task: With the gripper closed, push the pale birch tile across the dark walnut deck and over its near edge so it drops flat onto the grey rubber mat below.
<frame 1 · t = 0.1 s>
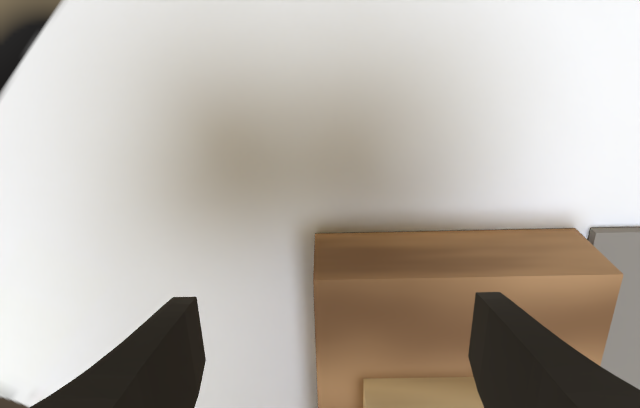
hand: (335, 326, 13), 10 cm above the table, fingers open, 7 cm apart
walnut deck: (432, 381, 26), on the table
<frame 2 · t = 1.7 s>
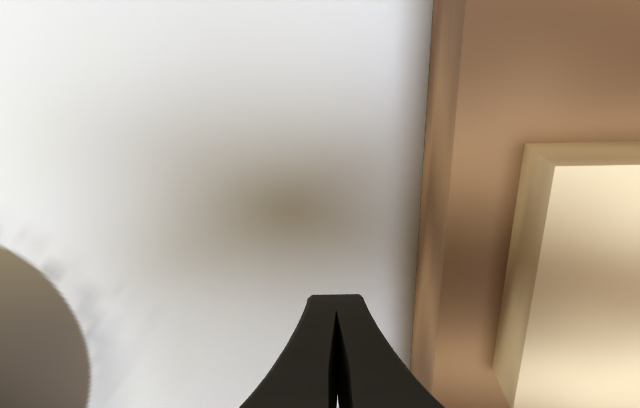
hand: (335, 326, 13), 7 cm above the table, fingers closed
birch tile: (603, 265, 15), point 4 cm above the table, touching walnut deck
walnut deck: (575, 212, 19), on the table
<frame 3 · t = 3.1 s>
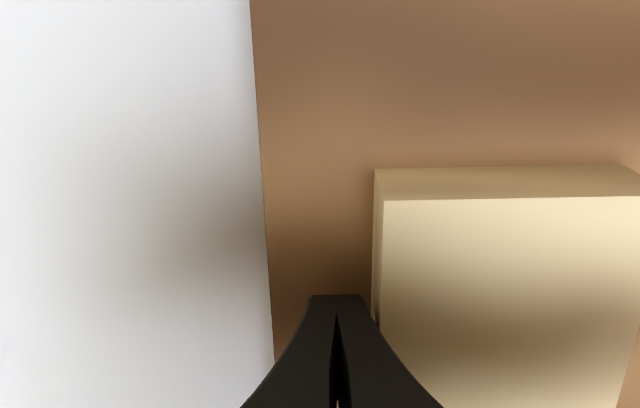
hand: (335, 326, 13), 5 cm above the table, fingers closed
birch tile: (480, 304, 14), point 4 cm above the table, touching walnut deck
walnut deck: (453, 237, 17), on the table
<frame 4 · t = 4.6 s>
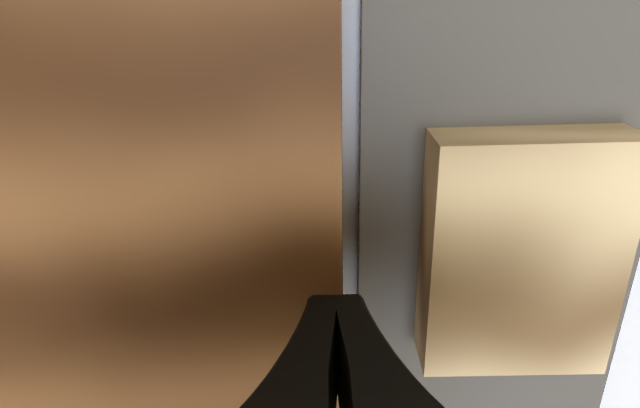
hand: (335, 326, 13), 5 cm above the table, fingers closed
birch tile: (531, 272, 15), point 2 cm above the table, tilted 180°, touching rubber mat
walnut deck: (168, 242, 17), on the table
rubber mat: (496, 237, 17), on the table
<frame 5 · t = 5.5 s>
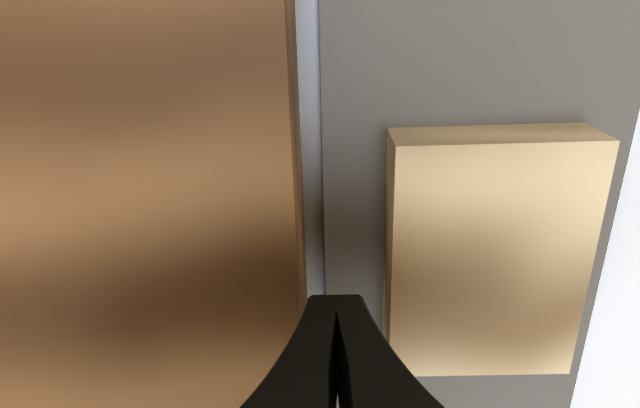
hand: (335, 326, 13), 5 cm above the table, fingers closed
birch tile: (491, 271, 15), point 2 cm above the table, tilted 180°, touching rubber mat
walnut deck: (134, 242, 17), on the table
rubber mat: (462, 236, 17), on the table
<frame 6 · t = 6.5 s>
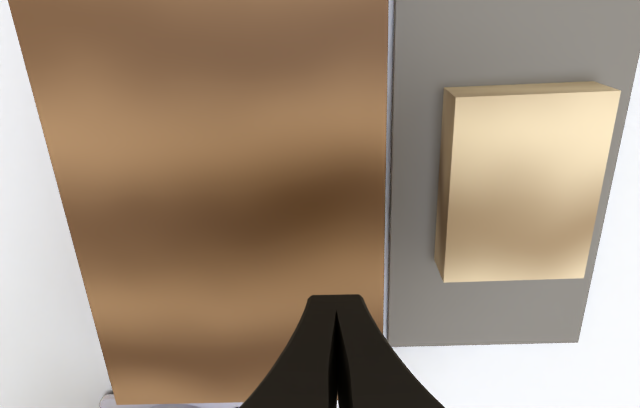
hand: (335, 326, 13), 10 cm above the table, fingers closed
birch tile: (524, 194, 20), point 2 cm above the table, tilted 180°, touching rubber mat
walnut deck: (241, 183, 22), on the table
rubber mat: (498, 175, 22), on the table
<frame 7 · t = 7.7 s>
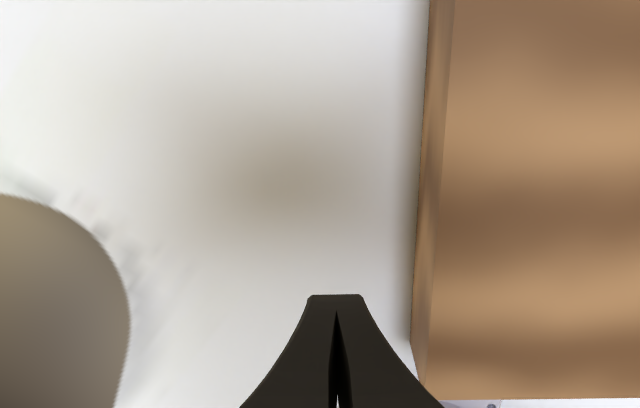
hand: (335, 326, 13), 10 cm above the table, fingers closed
walnut deck: (553, 178, 22), on the table
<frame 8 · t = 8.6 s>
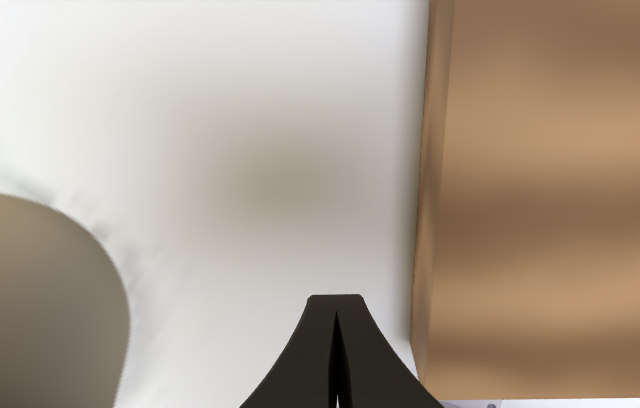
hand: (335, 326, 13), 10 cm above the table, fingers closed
walnut deck: (553, 178, 22), on the table
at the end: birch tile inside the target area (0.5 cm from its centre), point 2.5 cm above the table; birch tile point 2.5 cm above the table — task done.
